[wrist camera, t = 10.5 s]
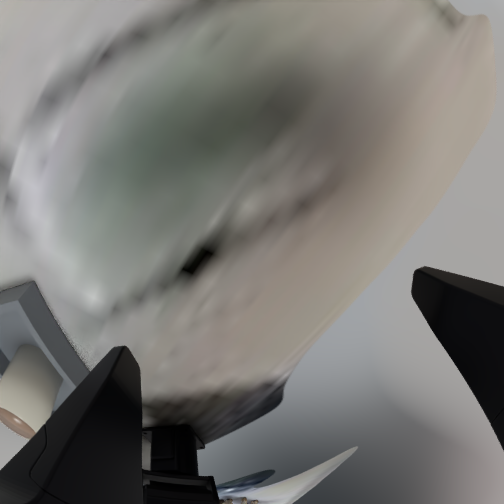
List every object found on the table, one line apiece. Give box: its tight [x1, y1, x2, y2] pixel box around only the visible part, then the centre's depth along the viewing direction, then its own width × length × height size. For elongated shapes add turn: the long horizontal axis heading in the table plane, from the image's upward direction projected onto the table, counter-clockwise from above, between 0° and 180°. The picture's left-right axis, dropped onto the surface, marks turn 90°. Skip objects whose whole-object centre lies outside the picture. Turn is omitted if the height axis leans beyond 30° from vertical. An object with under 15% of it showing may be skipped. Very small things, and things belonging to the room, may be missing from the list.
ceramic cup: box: [0, 344, 64, 440], centre depth 17 cm, size 6×6×8 cm
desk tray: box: [0, 281, 90, 415], centre depth 20 cm, size 18×12×3 cm, turn 12°
